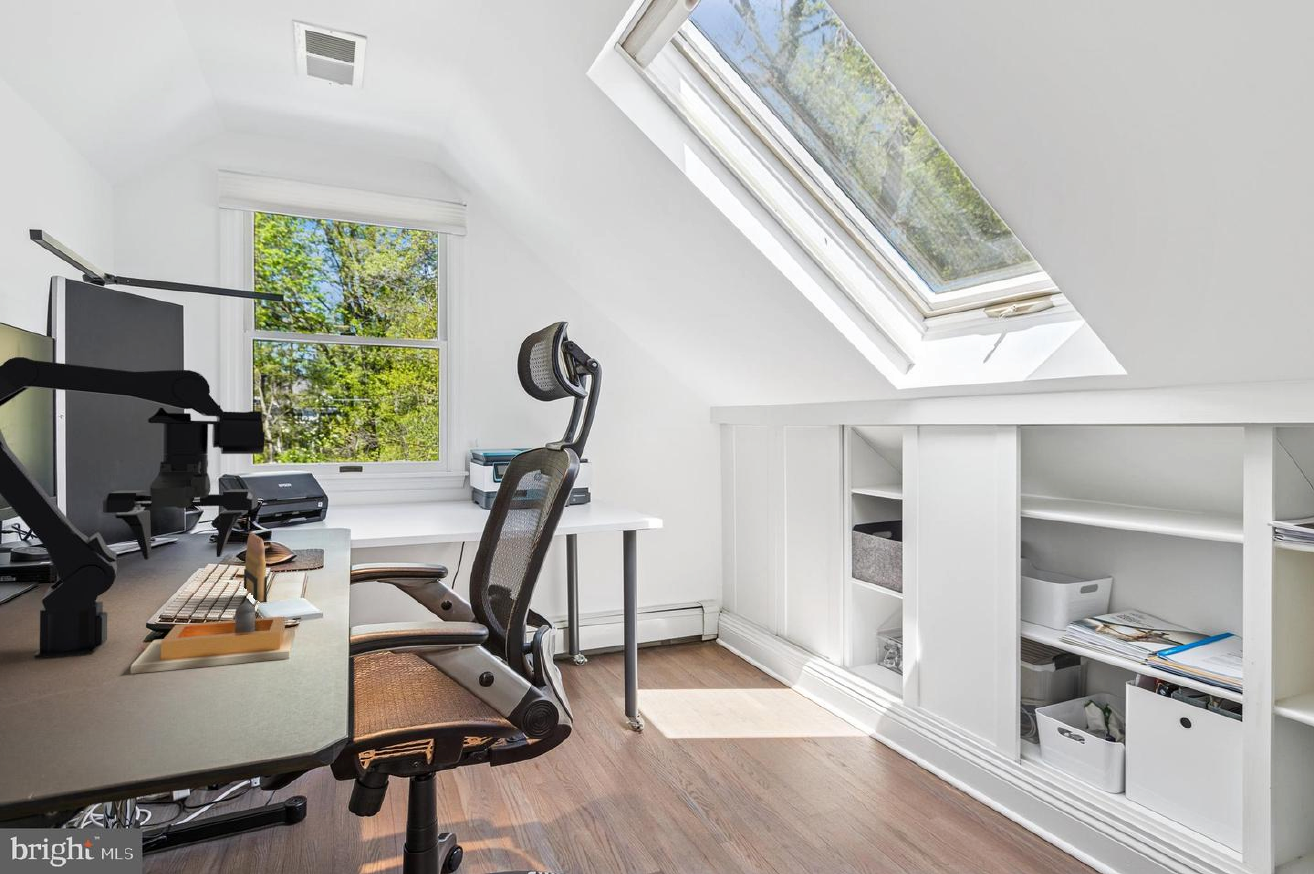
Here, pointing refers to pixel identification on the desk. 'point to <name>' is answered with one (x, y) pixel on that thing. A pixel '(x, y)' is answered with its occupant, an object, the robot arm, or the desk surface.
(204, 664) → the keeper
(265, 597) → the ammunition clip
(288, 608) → the hard drive
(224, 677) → the desk surface
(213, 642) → the shallow wooden tray
